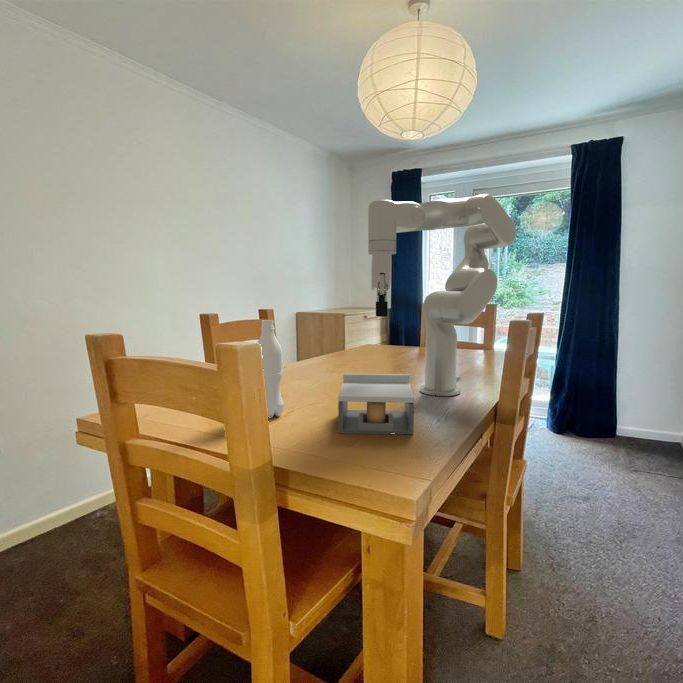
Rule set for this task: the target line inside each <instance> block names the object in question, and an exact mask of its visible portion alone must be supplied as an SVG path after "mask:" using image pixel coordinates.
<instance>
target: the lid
mask: <svg viewBox="0 0 683 683" xmlns="http://www.w3.org/2000/svg"><path fill="white" fill-rule="evenodd" d="M342 375H343V377H342V378H343V379H342V381H343V382H342V385H341V388H340V390H339V393H338V398H337V399H338V402H339V401H347V402H350V403H351V402H352V403H353V402H358V403H361V402H362V403H367V402H386V403H400V404H401V403H404V404H405V403H414V404H415V396H414V393H413V390H412V386H411V384H410V374H408V373H407V374H406V373H405V374H404V373H403V374H402V373H398V374H397V373H347V372H346V373H343V374H342Z"/></svg>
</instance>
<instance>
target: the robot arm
mask: <svg viewBox="0 0 683 683" xmlns="http://www.w3.org/2000/svg"><path fill="white" fill-rule="evenodd" d="M367 211H368V212H367V213H368V216H367V217H368V221H367V222H368V225H367V228H368V229H367V231H368V238H367V240H368V241H367V242H368V243H367V244H368V246H367V247H368V248H367V252H368V253H367V254H368V255H371V267H370V268H371V276H370V277H371V280H370V283H371V284H370V285H371V287H370V288H371V290H372V291H375V289H376V301H375V317H380V318H381V317H383V318H384V317H388V304H389V303H388V301H387V300H388V291H389V290H390V289H391V288H390V287H391V281H392V280H391V279H392V255H396V254H397V233H398V234H399V233H407V232H408V233H409V232H417V231H435V230H437V231H438V230H445V229H453V228H463V227H467V228H466V230H465V232H464V235H463V244H464V245H463V246H464V258H463V259H462V261H460V263H459V264H458V265H457V266H456V268H455V269H454V270H453V271H452V273H451V274H450V275H449V276H448V277H447V279H446V281H445V285H444V289H445V290H438V291H433V292H430V293H429V294H428V295H427V296H426V297H425V298H424V301H423V304H422V312H423V316H424V322H425V323H424V324H425V354H424V355H425V356H424V358H425V359H424V361H425V362H424V383H423V384H421V385H420V386H419V391H420V393H423V394H425V395H429V396H435V395H436V397H453V396H457V395H460V393H461V388H460V387H459V386H457V383H458V382H461V381H462V377H461V375H457V355H458V354H457V352H458V351H457V350H458V349H457V348H458V335H457V331H456V327H455V326H454V325H455V324H457V325H458V324H459V325H461V324H462V325H468V324H471V323H473V322H474V321H475V320H477V318H478V317H479V316H480V314H481V313H482V312H483V310H484V309H485V308H486V307H487V306H488V304H489V303H490V302H491V300H492V299H493V297H494V296H495V294H496V291H497V288H498V276H497V274H496V272H495V271H493V269H490V268H489V267H490V264H489V259H488V258H487V256H486V252H485V250H486V249H487V250H488V249H498V248H500V249H501V248H506V247H508V246H511V245H512V244H513V243H514V241H515V240H516V236H517V228H516V225H515V223H514V221H513V219H511V217H510V216H509V214H508V213H507V211H506V210H505V208H504V207H503V206H502V205H501V204H500V203H499V201H498V200H497V198H495V197H493V196H492V195H490V194H488V193H483V194H482V193H481V194H477V195H473V196H469V197H459V198H441V199H434V200H428V201H424V202H420V203H418V202H415V201H393V200H390V199H376V200H373V201H371V202H370V203H369V205H368V210H367Z"/></svg>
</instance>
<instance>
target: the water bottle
mask: <svg viewBox="0 0 683 683" xmlns="http://www.w3.org/2000/svg"><path fill="white" fill-rule="evenodd" d="M260 324H261V326H260V327H261V328H260V331H261V334H260V337H259V339H258V340H257V342H256V344H257V343H259V344H261V347H262V355H263V369H264V379H265V389H266V400H267V408H268V417H269V418H268V419H272V418H273V417H274V416H276V417H280V416H281V415H282V413H283V412H284V407H285V406H284V405H285V403H284V400H283V398H282V394H281V380H282V378H283V375H284V370H283V348H282V346H281V344H280V342H279V340H278V339H277V336H276V333H275V329H276V328H275V327H274V319H262V320H261V322H260Z"/></svg>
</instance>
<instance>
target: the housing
mask: <svg viewBox="0 0 683 683" xmlns="http://www.w3.org/2000/svg"><path fill="white" fill-rule="evenodd" d="M337 403H338V406H337V407H338V409H337V410H338V434H359V433H361V434H363V435H365V434H366V435H371V434H372V435H392V434H391V433H395V434H394V435H397V434H413V435H414V424H415V423H414V422H415V421H414V420H415V418H414V415H415V412H414V411H415V402H414V403H404V411H403V410H386V411H385V423H367V409H366V410H363V409H359V410H358V409H349V408H348V407H349V406H348V404H349V403H348V402H347V401H338V402H337ZM368 433H370V434H368Z"/></svg>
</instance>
